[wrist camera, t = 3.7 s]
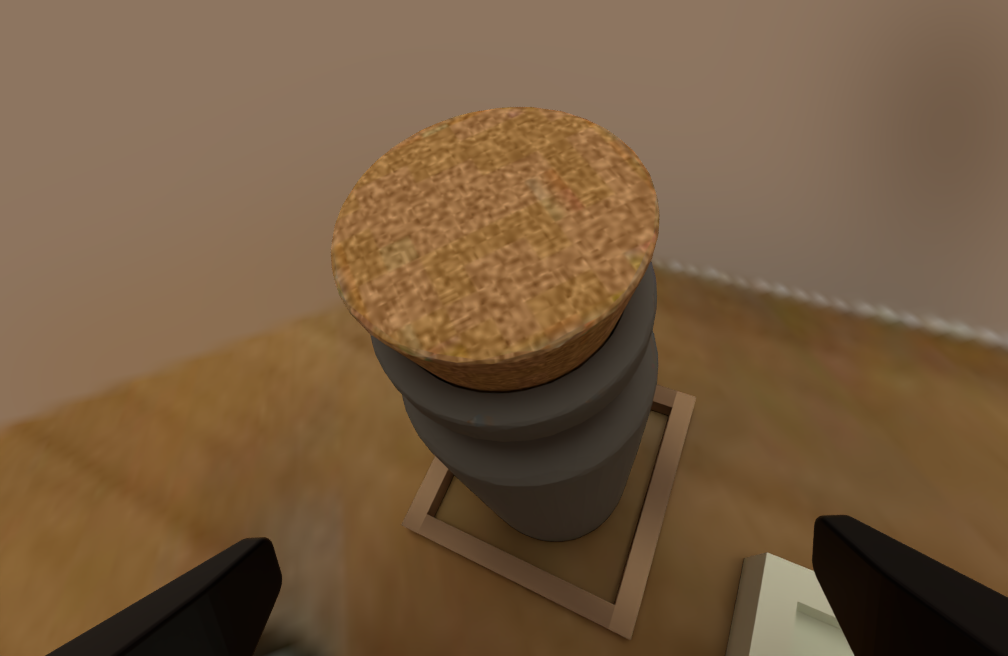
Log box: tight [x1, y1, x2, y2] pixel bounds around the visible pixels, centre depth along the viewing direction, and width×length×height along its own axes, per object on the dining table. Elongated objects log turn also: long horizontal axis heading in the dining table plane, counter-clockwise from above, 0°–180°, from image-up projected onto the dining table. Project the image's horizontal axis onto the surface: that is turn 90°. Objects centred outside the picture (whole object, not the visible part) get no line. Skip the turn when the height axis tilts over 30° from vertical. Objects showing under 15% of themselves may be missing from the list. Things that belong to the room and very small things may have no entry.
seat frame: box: [402, 385, 696, 640], centre depth 19 cm, size 9×9×1 cm
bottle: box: [331, 107, 659, 541], centre depth 13 cm, size 6×6×15 cm
